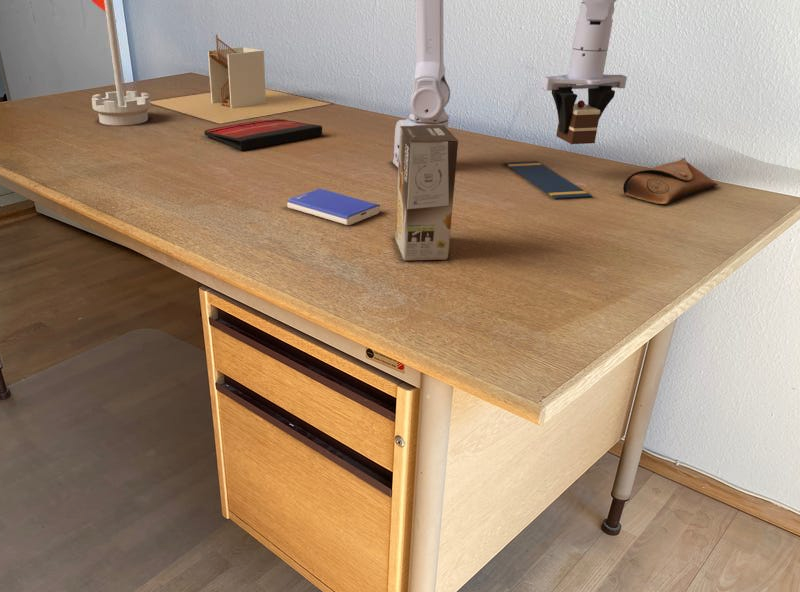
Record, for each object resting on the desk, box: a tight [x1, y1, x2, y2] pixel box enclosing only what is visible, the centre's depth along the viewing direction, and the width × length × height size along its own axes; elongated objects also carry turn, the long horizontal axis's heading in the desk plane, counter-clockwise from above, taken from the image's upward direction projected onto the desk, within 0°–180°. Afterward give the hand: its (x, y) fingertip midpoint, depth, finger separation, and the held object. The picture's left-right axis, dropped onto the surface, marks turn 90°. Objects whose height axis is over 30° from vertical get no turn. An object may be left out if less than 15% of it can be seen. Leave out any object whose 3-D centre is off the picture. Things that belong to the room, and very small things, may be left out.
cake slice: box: [555, 99, 600, 145], centre depth 130 cm, size 4×6×7 cm
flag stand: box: [91, 0, 152, 126], centre depth 165 cm, size 13×13×30 cm
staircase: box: [207, 34, 267, 109], centre depth 187 cm, size 9×11×17 cm
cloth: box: [504, 160, 592, 200], centre depth 134 cm, size 6×22×1 cm, turn 11°
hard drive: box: [287, 188, 381, 226], centre depth 117 cm, size 2×8×12 cm
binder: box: [203, 118, 323, 152], centre depth 160 cm, size 16×2×21 cm
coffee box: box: [394, 125, 459, 262], centre depth 100 cm, size 9×6×16 cm
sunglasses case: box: [622, 157, 718, 205], centre depth 128 cm, size 18×7×7 cm
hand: (576, 131), depth 131 cm, fingers closed on cake slice, 4 cm apart
